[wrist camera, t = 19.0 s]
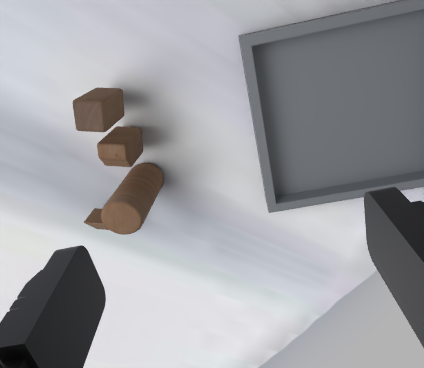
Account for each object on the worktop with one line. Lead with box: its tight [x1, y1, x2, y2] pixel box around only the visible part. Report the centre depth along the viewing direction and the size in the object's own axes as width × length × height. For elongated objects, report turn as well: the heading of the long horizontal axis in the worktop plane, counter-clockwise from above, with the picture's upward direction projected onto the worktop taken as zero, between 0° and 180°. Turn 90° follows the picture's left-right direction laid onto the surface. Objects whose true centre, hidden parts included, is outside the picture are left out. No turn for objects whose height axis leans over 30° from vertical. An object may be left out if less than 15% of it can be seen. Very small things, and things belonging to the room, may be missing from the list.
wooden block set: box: [73, 88, 164, 234], centre depth 42 cm, size 18×9×10 cm, turn 179°
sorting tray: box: [239, 0, 424, 213], centre depth 42 cm, size 20×20×3 cm
